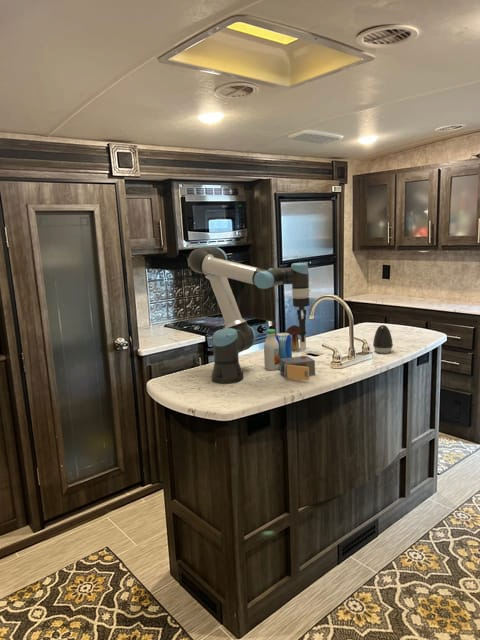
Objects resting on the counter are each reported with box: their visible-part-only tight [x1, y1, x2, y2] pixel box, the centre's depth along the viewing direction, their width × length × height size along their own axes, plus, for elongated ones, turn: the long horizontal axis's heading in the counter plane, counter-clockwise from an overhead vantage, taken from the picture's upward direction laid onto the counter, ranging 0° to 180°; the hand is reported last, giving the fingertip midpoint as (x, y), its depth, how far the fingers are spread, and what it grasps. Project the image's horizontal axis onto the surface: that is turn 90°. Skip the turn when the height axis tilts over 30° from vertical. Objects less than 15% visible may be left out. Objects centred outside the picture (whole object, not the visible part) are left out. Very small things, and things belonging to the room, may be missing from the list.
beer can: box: [275, 332, 293, 359], centre depth 242 cm, size 8×8×16 cm
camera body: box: [278, 355, 316, 376], centre depth 225 cm, size 15×10×8 cm, turn 104°
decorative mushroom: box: [284, 324, 300, 352], centre depth 268 cm, size 11×11×15 cm
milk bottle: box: [263, 328, 280, 371], centre depth 235 cm, size 8×8×20 cm
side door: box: [283, 364, 310, 381], centre depth 214 cm, size 12×2×6 cm, turn 59°
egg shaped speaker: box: [372, 324, 394, 354], centre depth 254 cm, size 10×10×15 cm
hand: (303, 348), depth 214 cm, fingers closed
